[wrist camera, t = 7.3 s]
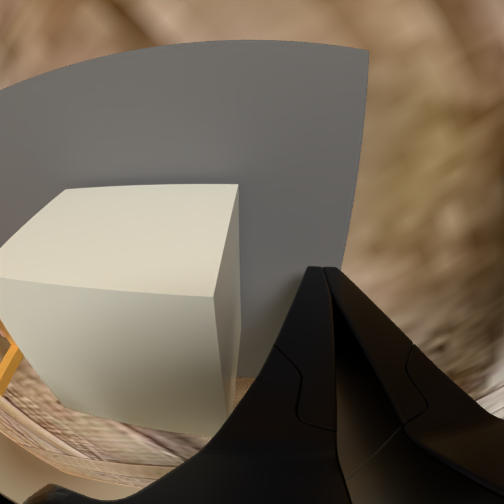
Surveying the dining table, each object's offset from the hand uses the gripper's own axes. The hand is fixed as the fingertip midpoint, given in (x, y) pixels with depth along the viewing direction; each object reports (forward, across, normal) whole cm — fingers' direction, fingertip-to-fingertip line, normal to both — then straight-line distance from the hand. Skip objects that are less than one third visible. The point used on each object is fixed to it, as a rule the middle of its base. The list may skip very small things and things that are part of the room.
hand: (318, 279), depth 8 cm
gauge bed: (+2, +9, 0) cm, 9 cm away
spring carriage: (0, +5, 0) cm, 5 cm away
